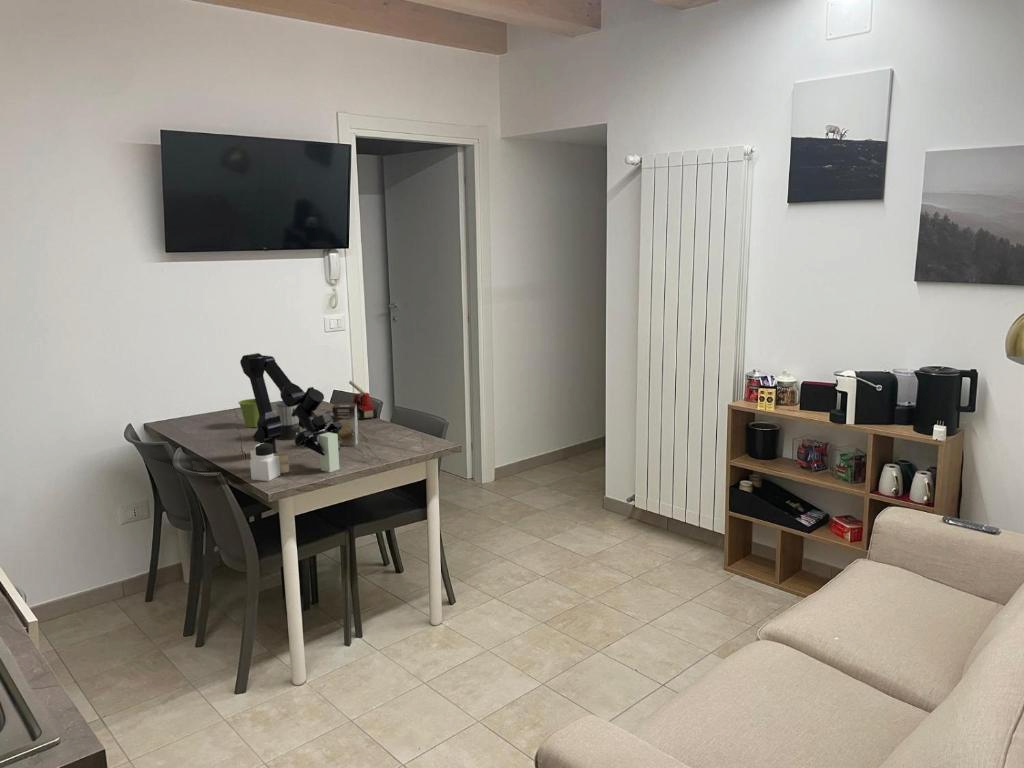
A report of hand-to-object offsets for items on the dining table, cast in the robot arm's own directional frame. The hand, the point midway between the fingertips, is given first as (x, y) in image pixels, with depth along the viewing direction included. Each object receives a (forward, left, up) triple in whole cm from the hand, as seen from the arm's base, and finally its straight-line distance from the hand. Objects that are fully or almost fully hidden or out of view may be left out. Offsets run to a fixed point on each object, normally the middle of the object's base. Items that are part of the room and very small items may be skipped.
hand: (331, 452), depth 273 cm
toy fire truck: (-78, +22, -7) cm, 81 cm away
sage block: (-1, -1, -7) cm, 7 cm away
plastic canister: (-11, -25, -7) cm, 28 cm away
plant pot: (-78, -25, -7) cm, 82 cm away
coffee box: (-33, +9, -7) cm, 35 cm away
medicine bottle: (0, -23, -7) cm, 24 cm away
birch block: (-6, -18, -7) cm, 20 cm away
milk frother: (-56, -13, -7) cm, 58 cm away
